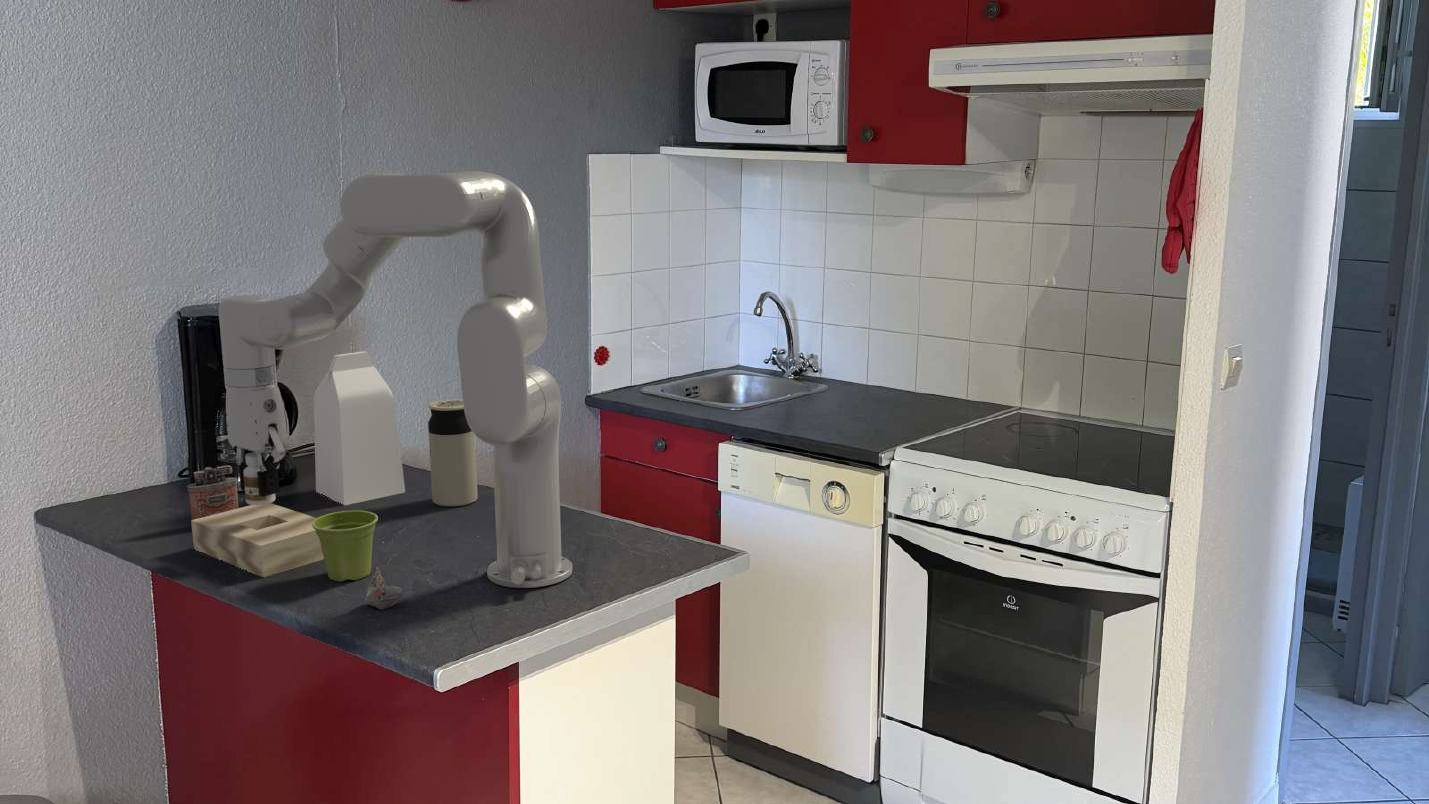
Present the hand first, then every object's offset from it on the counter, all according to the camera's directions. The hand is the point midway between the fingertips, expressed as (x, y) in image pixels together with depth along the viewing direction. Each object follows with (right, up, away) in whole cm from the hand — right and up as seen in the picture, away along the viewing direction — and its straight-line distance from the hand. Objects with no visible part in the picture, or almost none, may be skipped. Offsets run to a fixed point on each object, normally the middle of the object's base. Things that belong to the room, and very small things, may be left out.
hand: (260, 490), depth 192 cm
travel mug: (+24, -4, +29) cm, 38 cm away
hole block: (0, -10, +2) cm, 10 cm away
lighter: (-14, -7, +17) cm, 23 cm away
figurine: (+25, -15, -20) cm, 35 cm away
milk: (+6, -3, +35) cm, 36 cm away
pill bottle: (0, -2, 0) cm, 2 cm away
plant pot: (+16, -12, -8) cm, 22 cm away
